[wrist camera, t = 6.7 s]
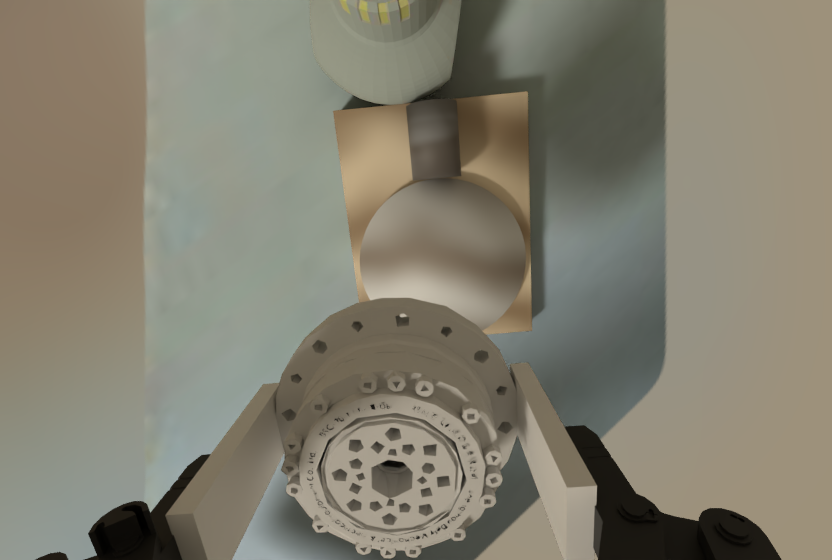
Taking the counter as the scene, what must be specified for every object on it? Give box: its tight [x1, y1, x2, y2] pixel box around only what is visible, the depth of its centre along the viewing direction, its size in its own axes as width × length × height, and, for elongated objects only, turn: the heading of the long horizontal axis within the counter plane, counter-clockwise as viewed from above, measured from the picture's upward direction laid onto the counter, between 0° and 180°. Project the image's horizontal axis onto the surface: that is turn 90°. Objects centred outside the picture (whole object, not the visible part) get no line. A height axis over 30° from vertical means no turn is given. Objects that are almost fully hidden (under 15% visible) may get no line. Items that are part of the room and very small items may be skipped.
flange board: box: [333, 91, 532, 334], centre depth 27 cm, size 17×13×5 cm
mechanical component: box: [276, 298, 518, 559], centre depth 15 cm, size 10×4×10 cm
